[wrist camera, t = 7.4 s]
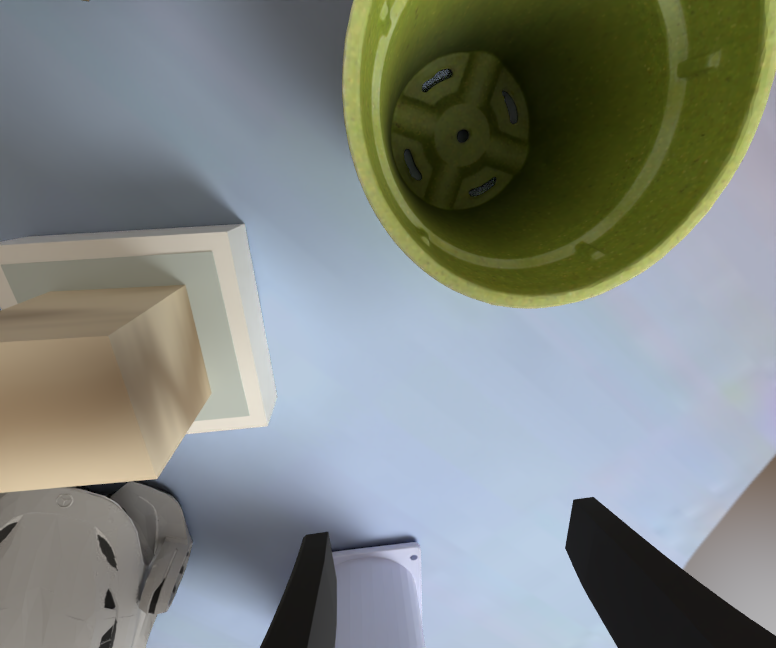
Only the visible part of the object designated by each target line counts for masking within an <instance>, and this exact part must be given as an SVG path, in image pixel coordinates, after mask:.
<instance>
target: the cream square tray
mask: <svg viewBox="0 0 776 648" xmlns="http://www.w3.org/2000/svg"><path fill="white" fill-rule="evenodd" d="M171 285H186V289H187V293H188V297H189V301H190V305H191V310H192V314H193V318H194V322H195V326H196V330H197V334H198V339H199V343H200V347H201V351H202V355H203V359H204V363H205V367H206V372H207V376H208V380H209V384H210V388H211V392H212V394H211V395H210V397H209V398H208V400H207V402H206V403H205V405H204V406H203V408H202V409H201V411H200V413H199V414H198V416H197V417H196V419H195V420H194V422H193V424H192V425H191V427H190V428H189V430H188V431H187V433H186V434H192V433H203V432H213V431H223V430H234V429H244V428H254V427H265V426H268V424H269V421H270V418H271V415H272V412H273V409H274V406H275V403H276V400H277V392H276V386H275V381H274V376H273V371H272V365H271V360H270V355H269V349H268V344H267V339H266V334H265V328H264V323H263V318H262V312H261V307H260V302H259V297H258V291H257V286H256V281H255V275H254V270H253V265H252V260H251V254H250V249H249V244H248V238H247V233H246V228H245V224H231V225H214V226H197V227H180V228H163V229H146V230H129V231H112V232H95V233H78V234H61V235H44V236H28V237H22V238H17V239H12V240H6V241H1V242H0V307H1V309H2V310H3V309H6V308H9V307H11V306H14V305H16V304H19V303H21V302H24V301H27V300H29V299H32V298H34V297H37V296H40V295H42V294H45V293H47V292H50V291H70V290H90V289H111V288H131V287H151V286H171Z"/></svg>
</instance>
